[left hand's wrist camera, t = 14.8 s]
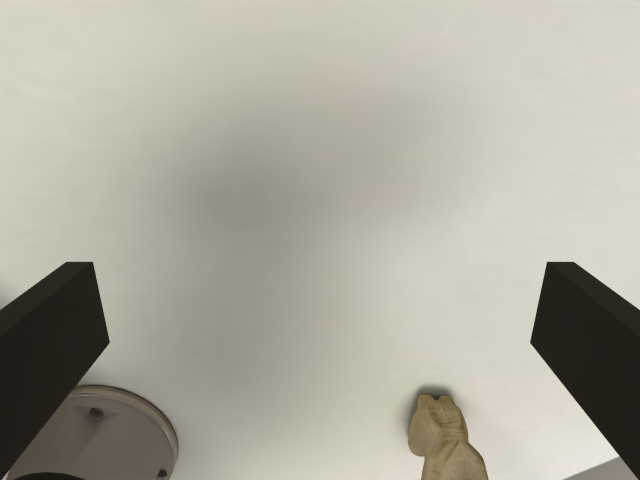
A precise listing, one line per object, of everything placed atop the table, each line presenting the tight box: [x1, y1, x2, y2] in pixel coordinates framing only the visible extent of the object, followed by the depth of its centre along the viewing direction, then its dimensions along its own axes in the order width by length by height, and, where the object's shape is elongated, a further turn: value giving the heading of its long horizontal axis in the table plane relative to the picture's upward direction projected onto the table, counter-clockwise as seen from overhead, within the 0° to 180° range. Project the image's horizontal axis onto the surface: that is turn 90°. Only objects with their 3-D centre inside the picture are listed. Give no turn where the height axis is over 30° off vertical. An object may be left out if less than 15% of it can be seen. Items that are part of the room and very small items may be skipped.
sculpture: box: [408, 395, 488, 480], centre depth 37 cm, size 6×7×15 cm
